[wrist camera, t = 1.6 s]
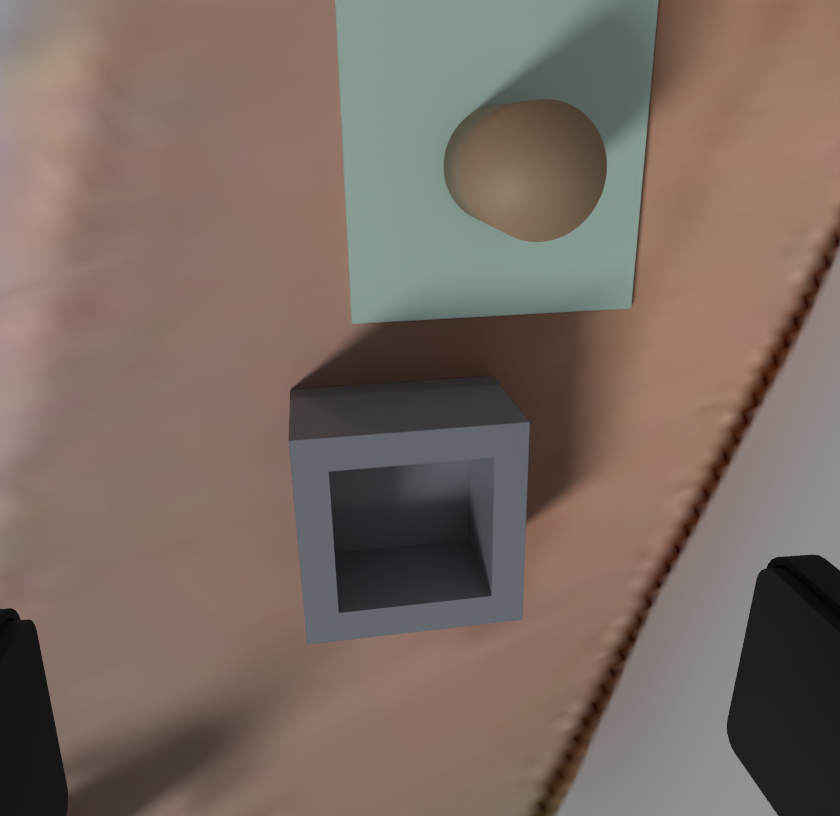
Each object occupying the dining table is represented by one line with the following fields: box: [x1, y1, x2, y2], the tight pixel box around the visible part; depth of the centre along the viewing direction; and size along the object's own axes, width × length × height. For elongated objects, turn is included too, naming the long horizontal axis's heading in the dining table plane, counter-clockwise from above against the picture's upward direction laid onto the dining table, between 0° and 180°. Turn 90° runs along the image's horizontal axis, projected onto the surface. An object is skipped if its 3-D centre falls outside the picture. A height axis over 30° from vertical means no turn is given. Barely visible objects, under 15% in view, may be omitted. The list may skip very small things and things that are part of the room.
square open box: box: [289, 376, 530, 644], centre depth 28 cm, size 8×8×5 cm
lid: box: [335, 0, 659, 324], centre depth 24 cm, size 11×11×6 cm
